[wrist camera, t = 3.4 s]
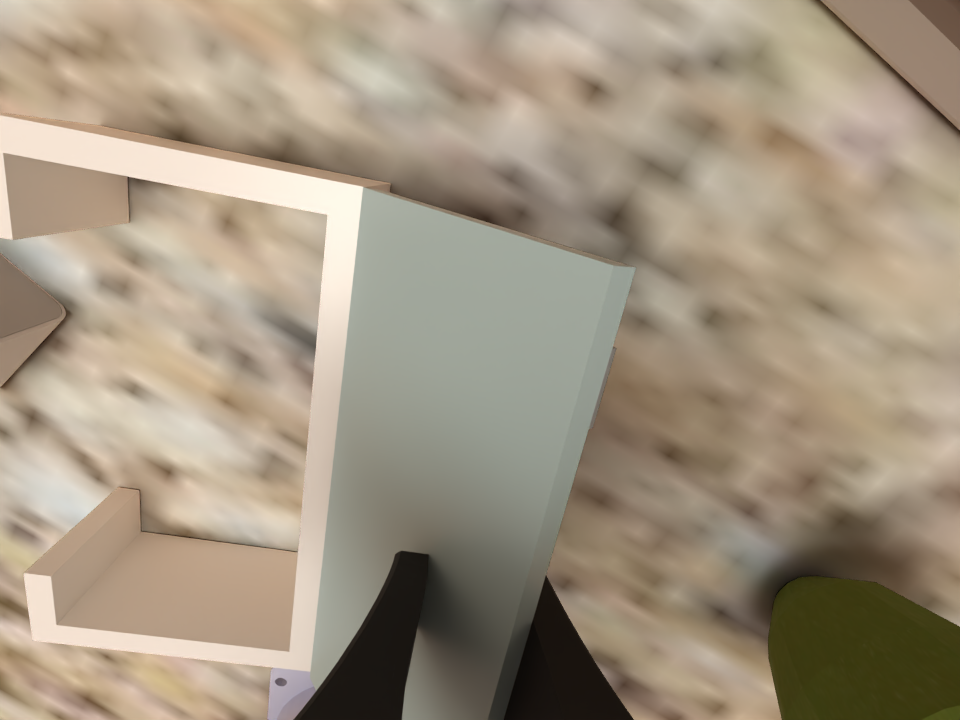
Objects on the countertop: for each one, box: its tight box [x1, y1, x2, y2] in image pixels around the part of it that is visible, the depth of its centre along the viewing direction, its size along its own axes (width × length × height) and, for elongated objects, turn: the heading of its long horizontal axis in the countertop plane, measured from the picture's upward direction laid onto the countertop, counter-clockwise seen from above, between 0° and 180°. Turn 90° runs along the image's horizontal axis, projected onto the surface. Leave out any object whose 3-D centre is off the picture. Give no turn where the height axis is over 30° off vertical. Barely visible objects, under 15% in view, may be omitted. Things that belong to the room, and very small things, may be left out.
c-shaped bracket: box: [0, 113, 391, 672], centre depth 17 cm, size 16×9×5 cm, turn 169°
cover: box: [310, 187, 636, 720], centre depth 12 cm, size 16×8×1 cm
